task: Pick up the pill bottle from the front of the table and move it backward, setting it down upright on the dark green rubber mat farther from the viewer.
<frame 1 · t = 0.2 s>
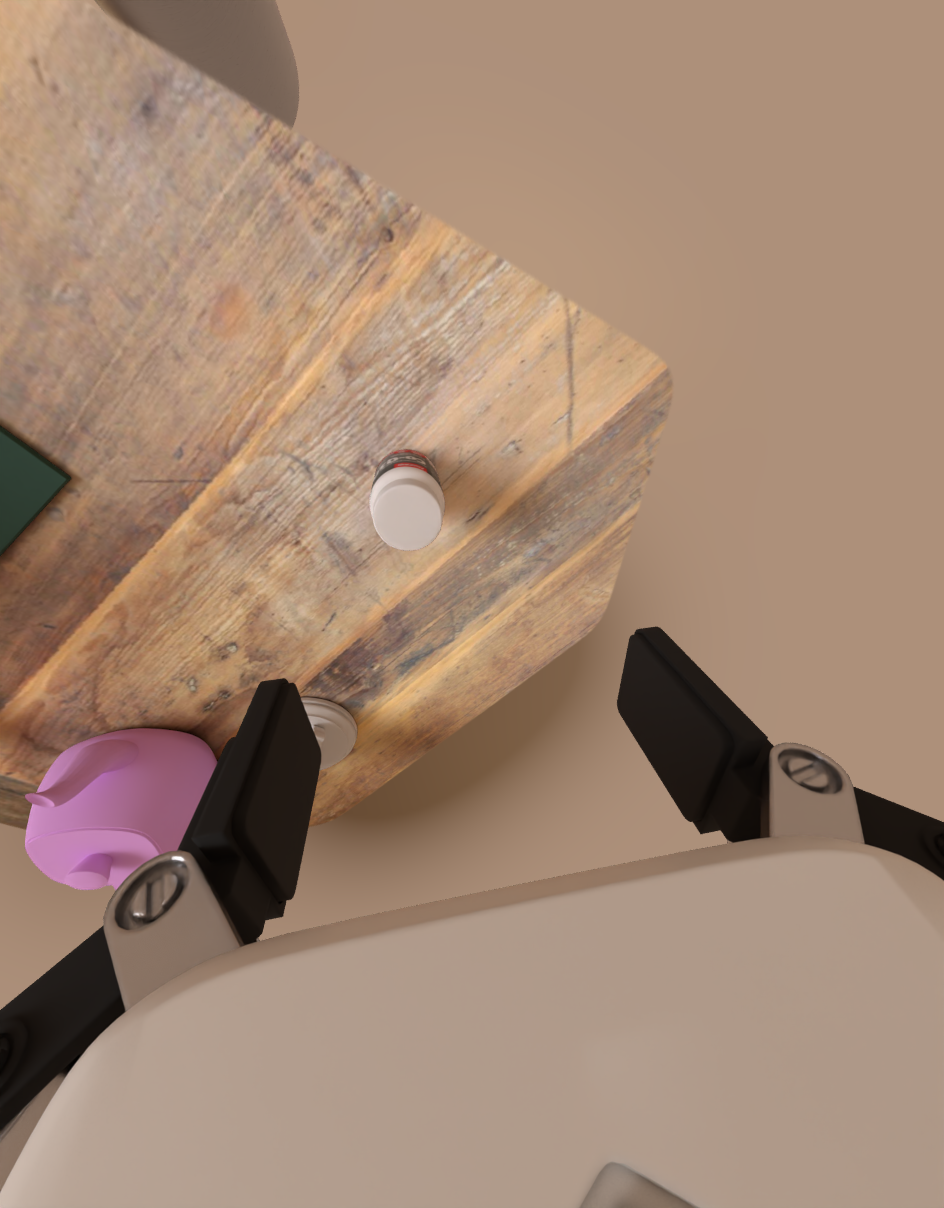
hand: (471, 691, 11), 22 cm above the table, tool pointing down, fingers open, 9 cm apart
pill bottle: (406, 480, 30), on the table
chess piece: (309, 729, 42), on the table
teapot: (156, 756, 40), on the table
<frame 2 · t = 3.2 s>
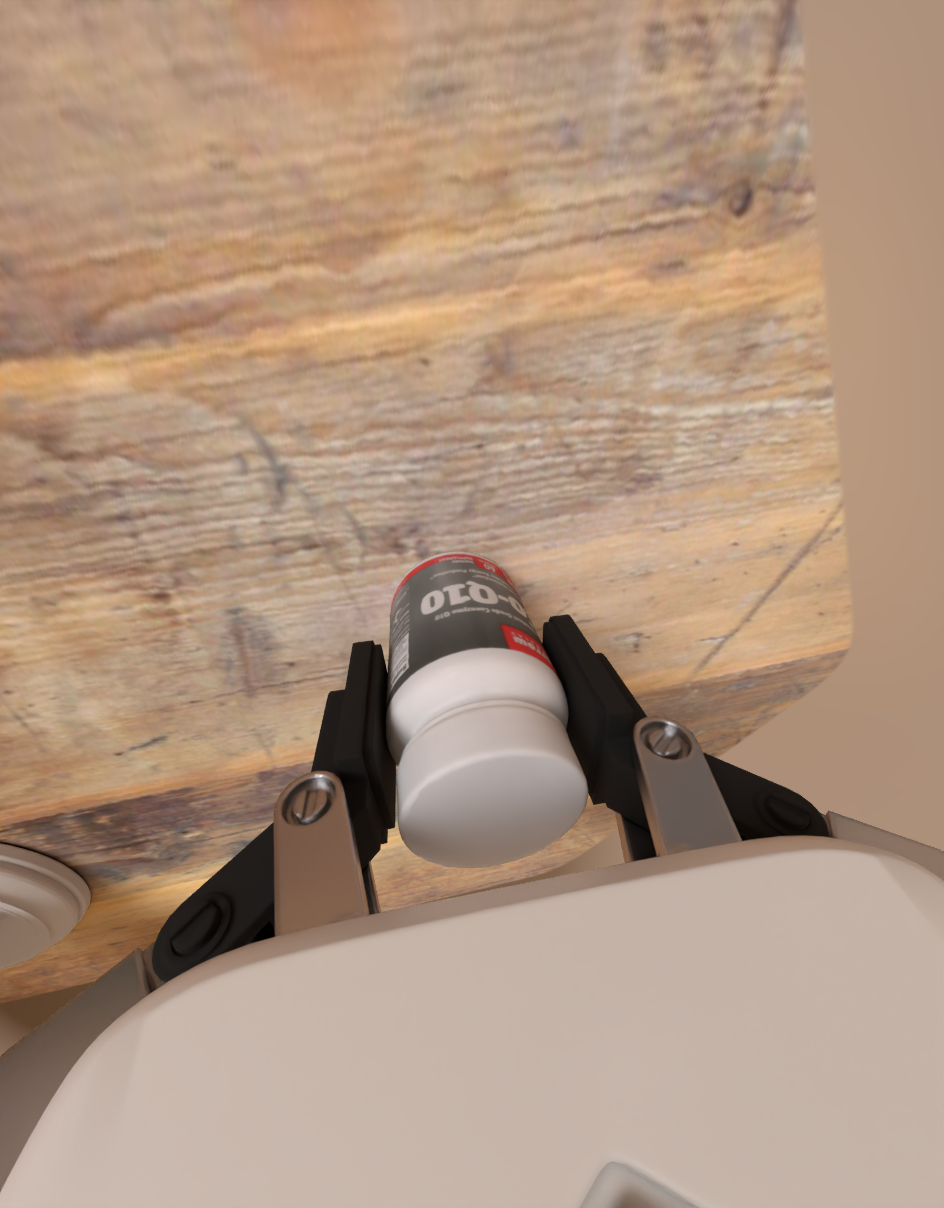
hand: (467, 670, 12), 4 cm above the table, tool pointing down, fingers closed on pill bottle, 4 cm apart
pill bottle: (452, 602, 15), on the table, touching gripper
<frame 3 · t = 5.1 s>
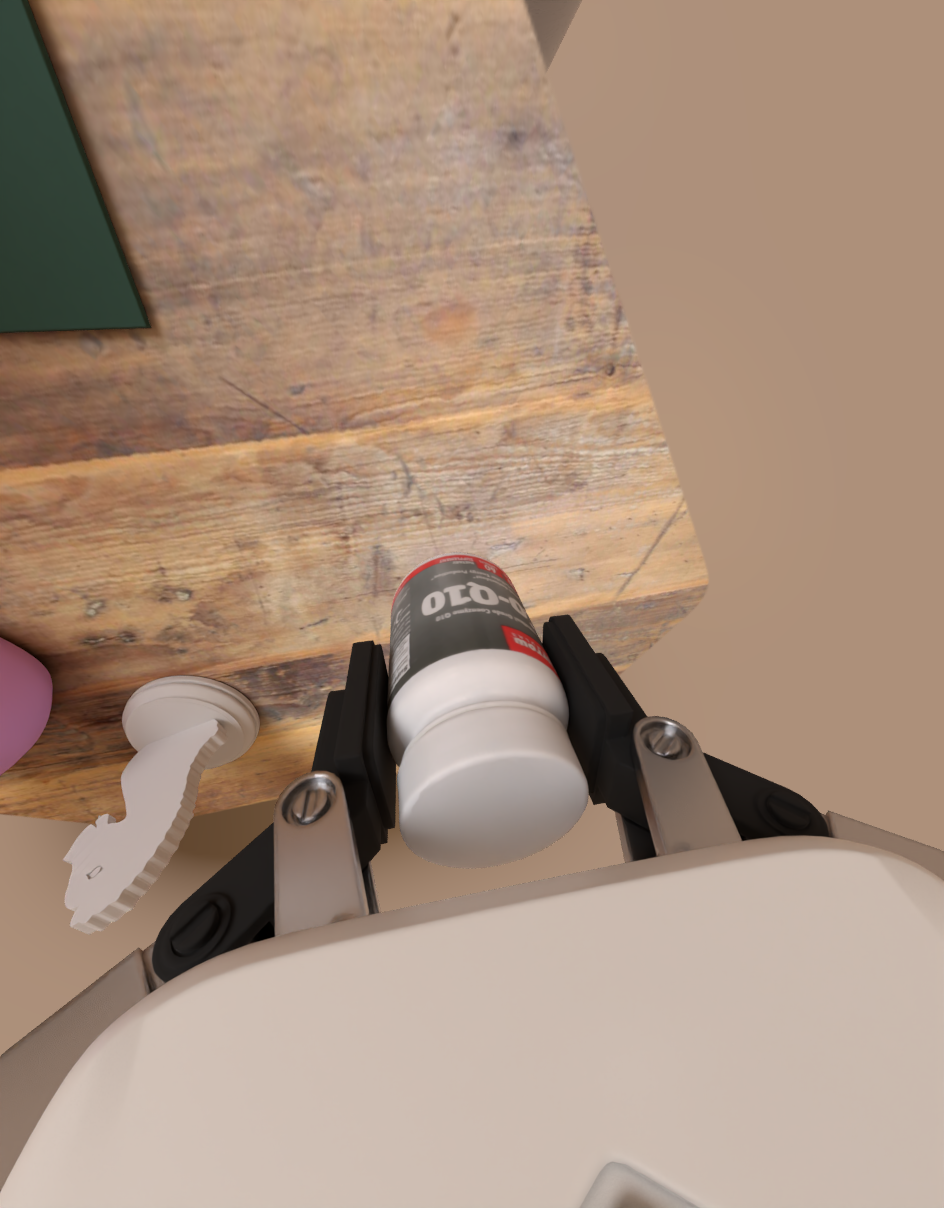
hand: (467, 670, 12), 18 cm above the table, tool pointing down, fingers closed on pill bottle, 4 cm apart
pill bottle: (453, 603, 15), point 14 cm above the table, touching gripper
chess piece: (197, 718, 34), on the table
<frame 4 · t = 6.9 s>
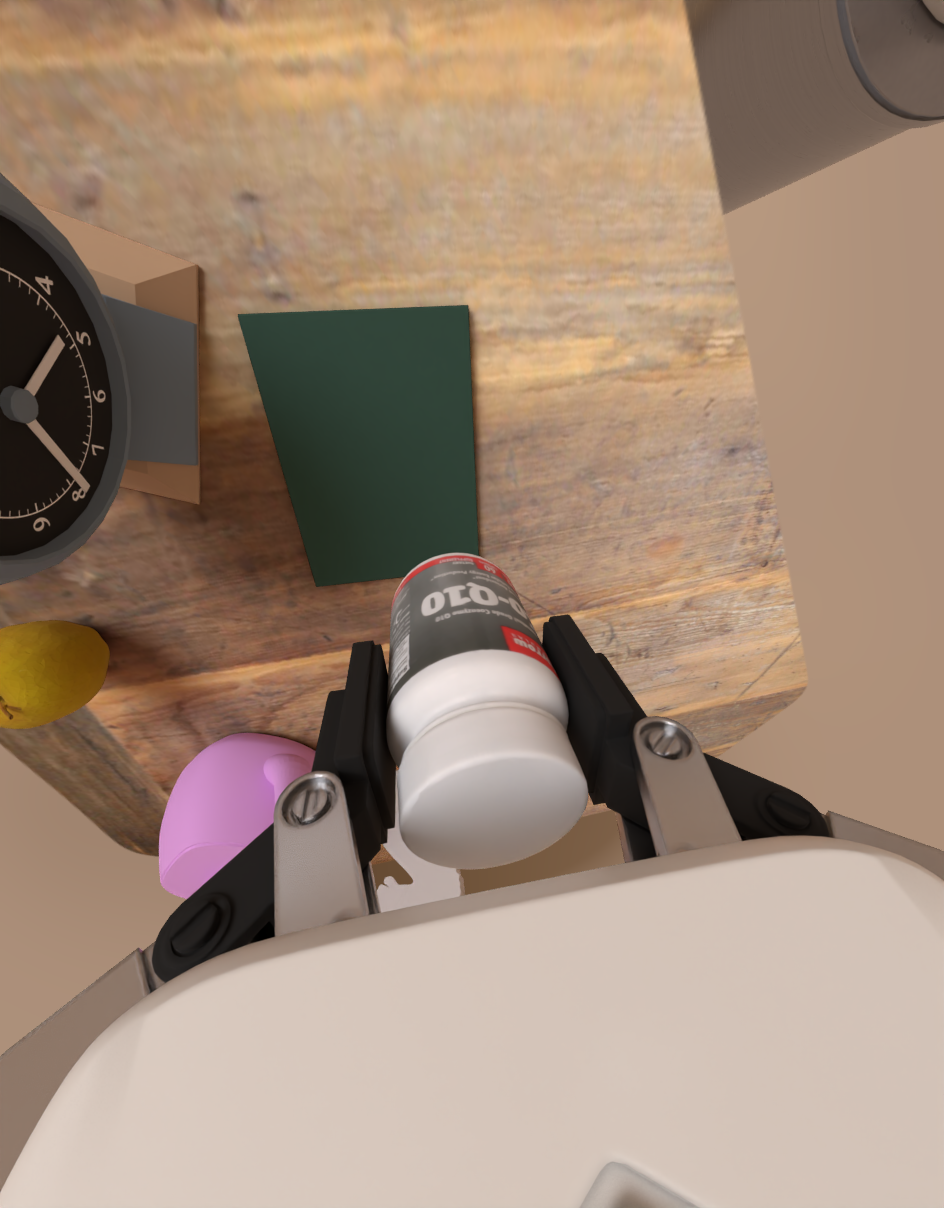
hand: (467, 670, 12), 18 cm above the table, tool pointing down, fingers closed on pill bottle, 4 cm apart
pill bottle: (453, 603, 15), point 14 cm above the table, touching gripper
mat: (381, 464, 25), on the table
alarm clock: (96, 368, 21), on the table
apple: (81, 634, 28), on the table
chess piece: (416, 792, 44), on the table
teapot: (271, 766, 38), on the table
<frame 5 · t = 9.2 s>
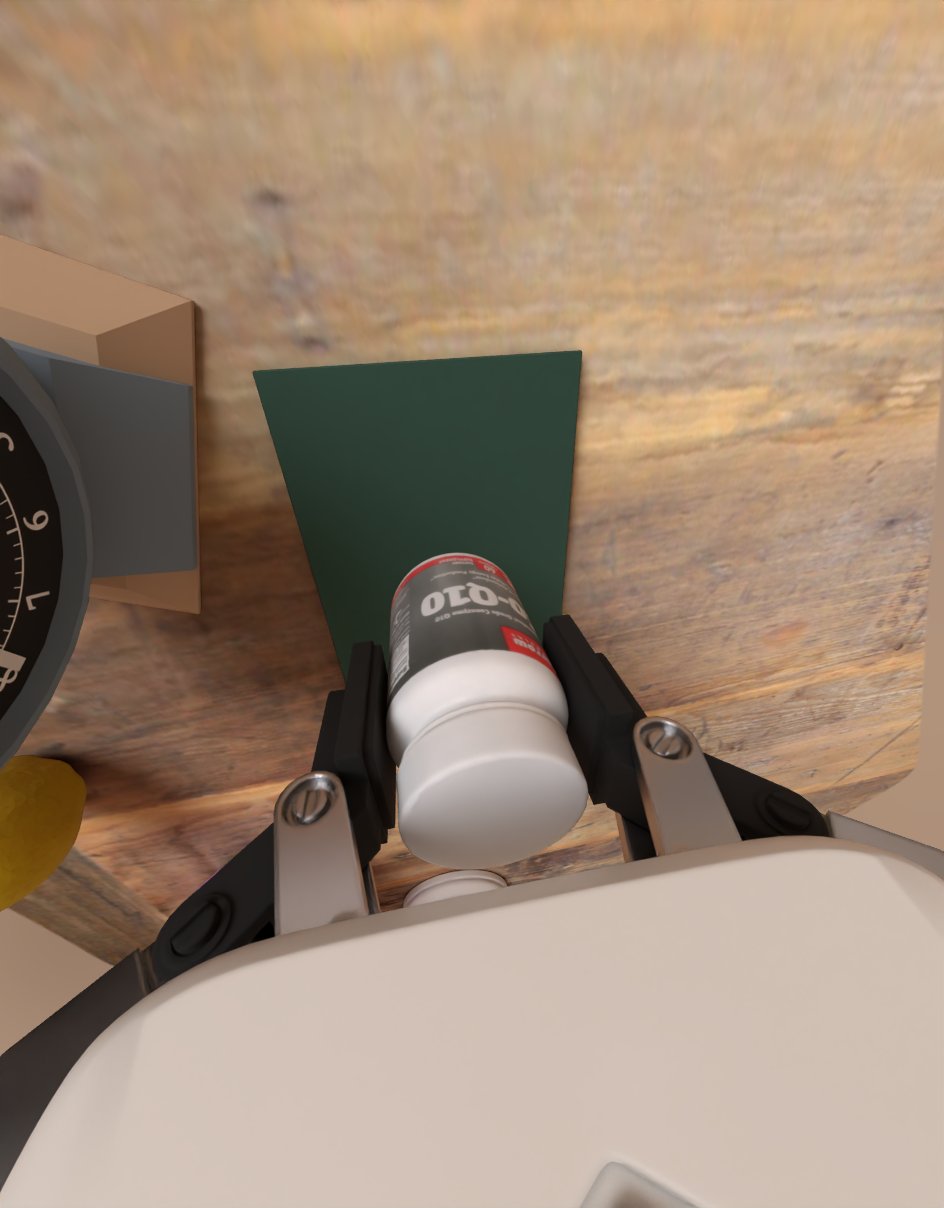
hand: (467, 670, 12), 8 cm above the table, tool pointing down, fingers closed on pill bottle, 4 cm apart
pill bottle: (452, 603, 15), point 4 cm above the table, touching gripper
mat: (443, 555, 19), on the table
alarm clock: (50, 447, 15), on the table
apple: (50, 762, 22), on the table
chess piece: (455, 894, 37), on the table
when the fingers open (4 cm above the table, at t = 10.6 s): pill bottle stays where it is, resting on mat.
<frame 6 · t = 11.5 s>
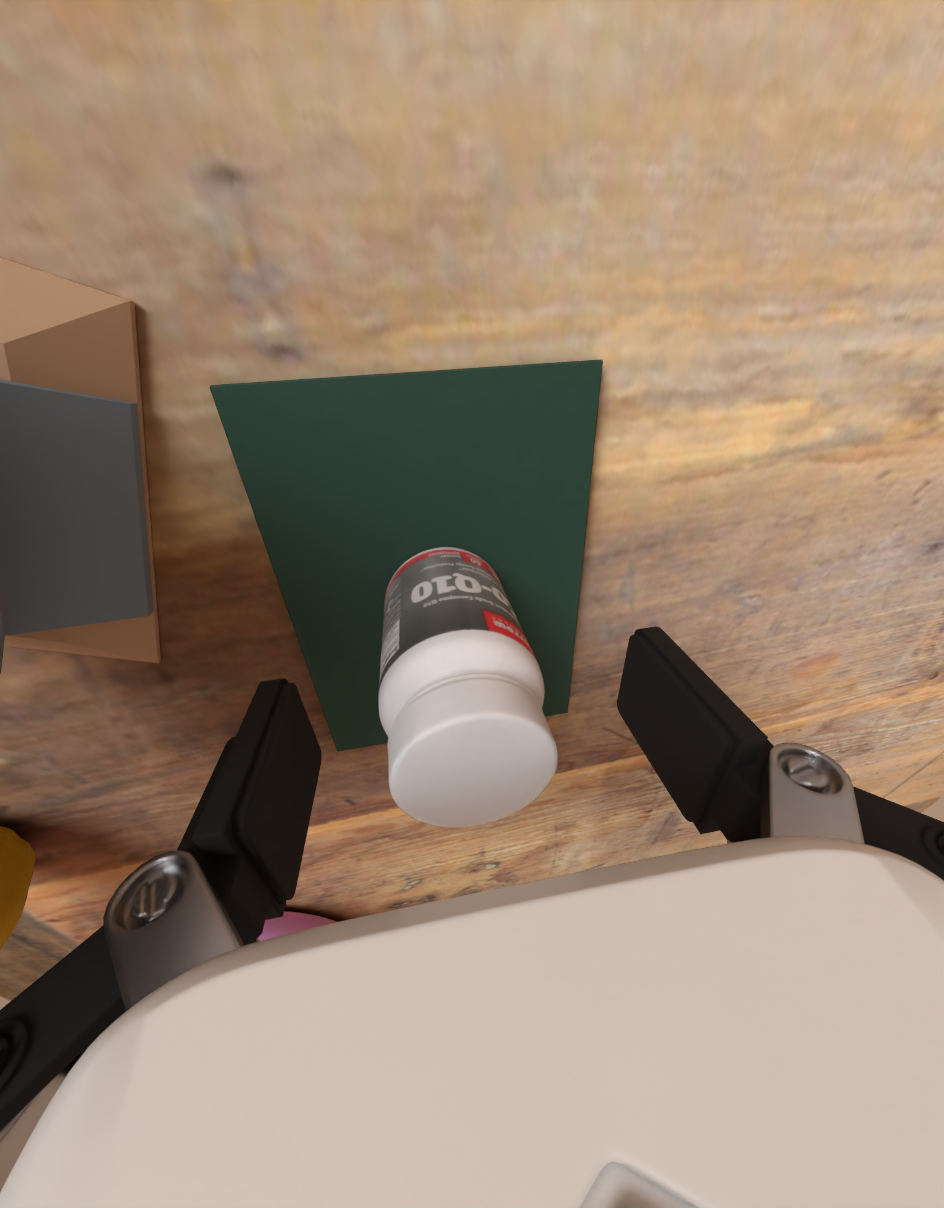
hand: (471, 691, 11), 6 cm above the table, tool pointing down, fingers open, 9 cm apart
pill bottle: (442, 595, 16), resting on mat
mat: (440, 592, 17), on the table
teapot: (273, 935, 29), on the table
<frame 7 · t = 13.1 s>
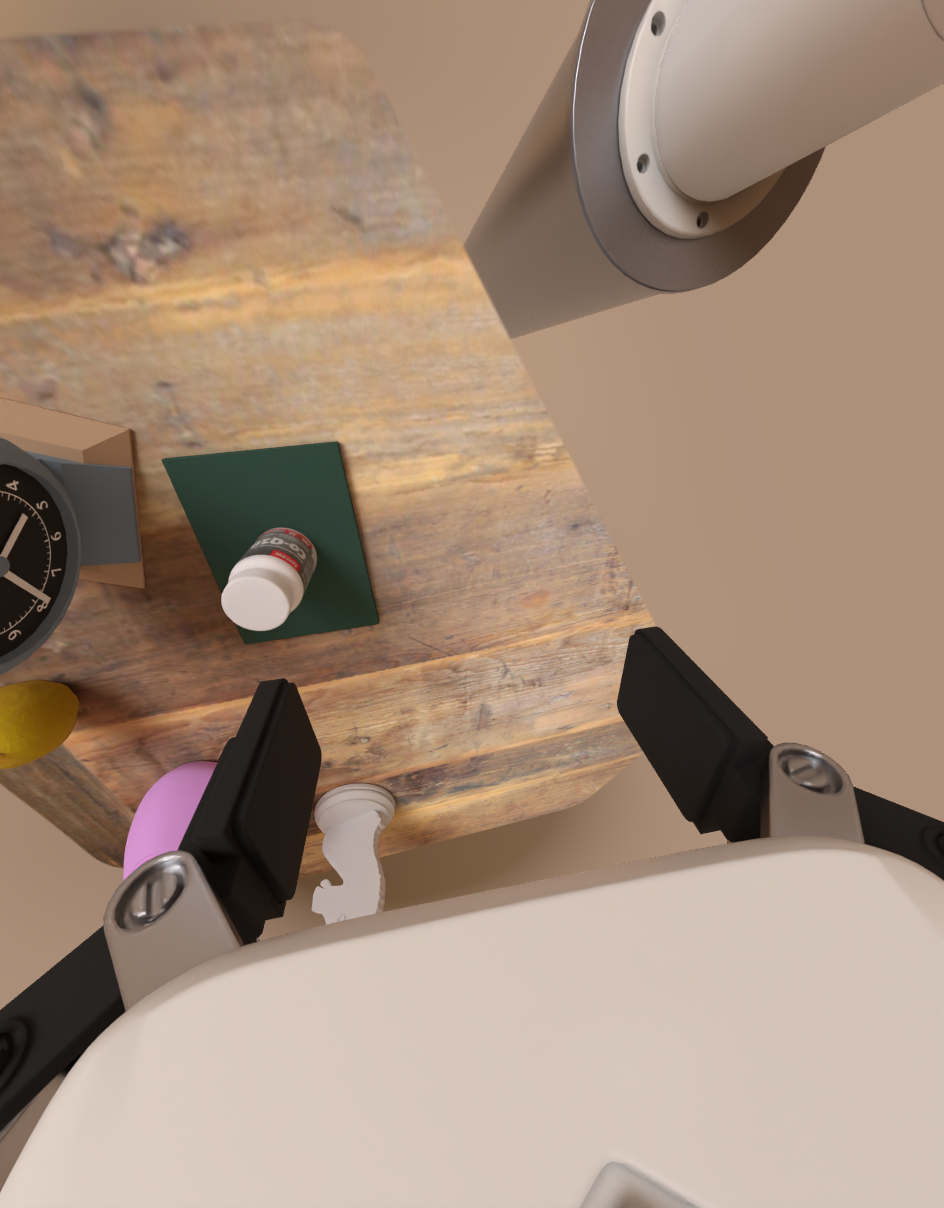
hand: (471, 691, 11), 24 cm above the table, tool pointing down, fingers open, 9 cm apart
pill bottle: (287, 553, 32), resting on mat
mat: (287, 551, 33), on the table
alarm clock: (59, 499, 28), on the table
apple: (56, 688, 35), on the table
chess piece: (356, 806, 50), on the table
teapot: (224, 788, 45), on the table
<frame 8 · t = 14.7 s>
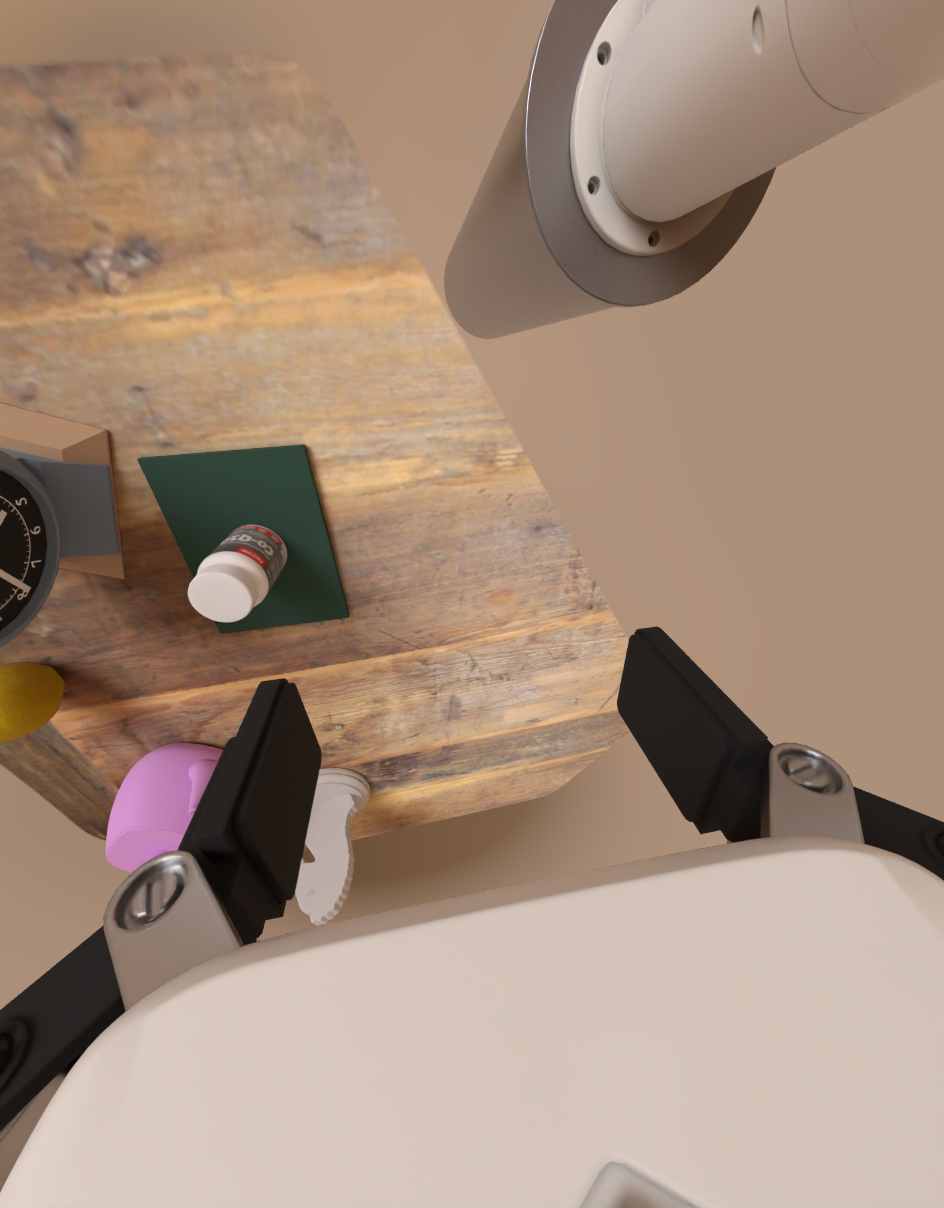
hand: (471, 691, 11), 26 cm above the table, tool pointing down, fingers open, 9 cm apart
pill bottle: (259, 548, 34), resting on mat
mat: (259, 547, 34), on the table
alarm clock: (42, 493, 30), on the table
apple: (43, 670, 38), on the table
chess piece: (332, 790, 53), on the table
teapot: (205, 768, 47), on the table
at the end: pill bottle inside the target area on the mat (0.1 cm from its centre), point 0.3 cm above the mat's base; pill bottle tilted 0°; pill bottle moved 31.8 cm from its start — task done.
